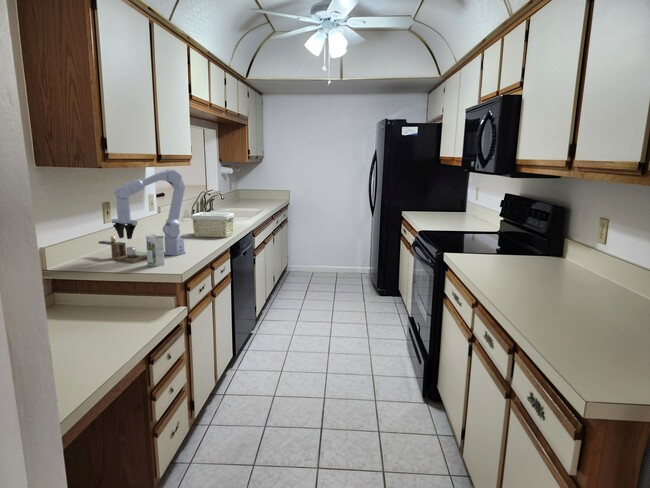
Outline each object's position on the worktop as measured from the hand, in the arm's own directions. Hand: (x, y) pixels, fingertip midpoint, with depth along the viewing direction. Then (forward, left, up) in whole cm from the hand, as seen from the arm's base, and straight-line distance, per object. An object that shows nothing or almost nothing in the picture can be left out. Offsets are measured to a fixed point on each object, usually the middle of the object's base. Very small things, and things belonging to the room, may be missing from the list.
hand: (125, 238), depth 207 cm
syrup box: (-21, +3, -11) cm, 24 cm away
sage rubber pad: (+2, -10, -10) cm, 15 cm away
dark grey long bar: (+10, 0, -4) cm, 10 cm away
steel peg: (-3, 0, -10) cm, 11 cm away
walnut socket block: (-1, 0, -10) cm, 10 cm away
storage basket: (0, -73, -11) cm, 74 cm away
